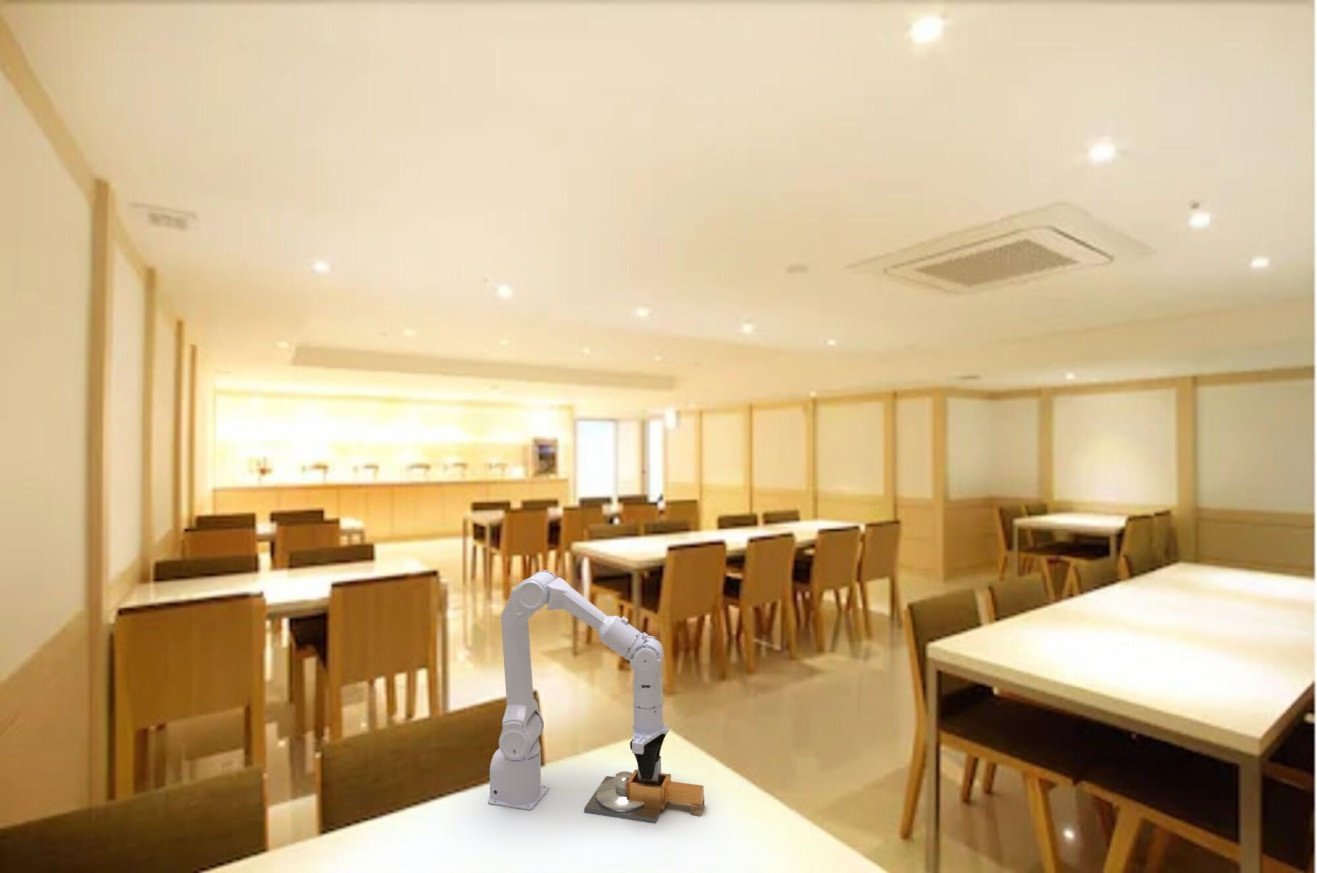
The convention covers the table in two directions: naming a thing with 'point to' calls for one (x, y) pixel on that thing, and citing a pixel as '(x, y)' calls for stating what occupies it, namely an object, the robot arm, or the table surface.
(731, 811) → the table surface
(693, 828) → the table surface
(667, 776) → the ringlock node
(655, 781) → the brushed metal block
